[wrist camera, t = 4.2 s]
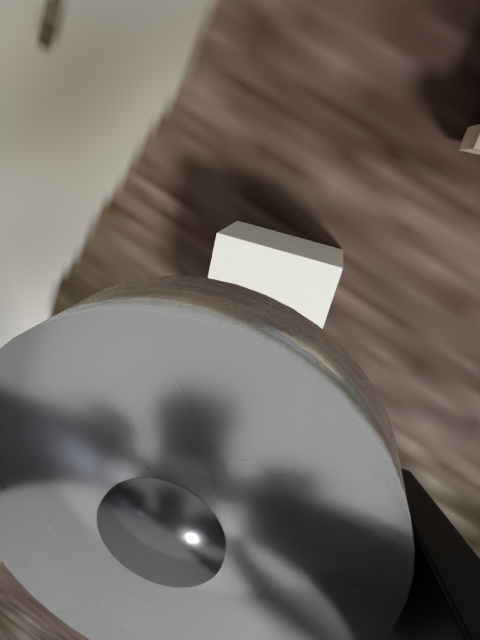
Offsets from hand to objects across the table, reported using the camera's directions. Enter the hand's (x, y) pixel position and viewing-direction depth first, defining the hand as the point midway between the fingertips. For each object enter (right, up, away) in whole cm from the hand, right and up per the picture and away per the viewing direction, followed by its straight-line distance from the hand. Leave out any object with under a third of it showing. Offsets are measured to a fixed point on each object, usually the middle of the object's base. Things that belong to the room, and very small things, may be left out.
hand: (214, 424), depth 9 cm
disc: (0, 0, -1) cm, 1 cm away
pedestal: (+2, +4, +11) cm, 12 cm away
